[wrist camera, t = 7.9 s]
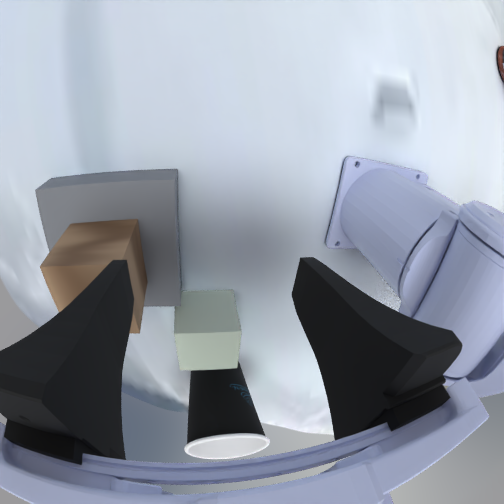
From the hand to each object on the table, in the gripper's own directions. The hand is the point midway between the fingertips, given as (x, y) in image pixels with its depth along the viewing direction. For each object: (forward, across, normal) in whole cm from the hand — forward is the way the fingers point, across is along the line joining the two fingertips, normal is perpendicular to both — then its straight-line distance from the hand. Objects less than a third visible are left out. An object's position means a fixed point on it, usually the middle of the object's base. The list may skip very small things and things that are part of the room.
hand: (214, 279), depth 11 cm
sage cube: (+10, 0, +11) cm, 15 cm away
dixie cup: (+10, -1, +19) cm, 21 cm away
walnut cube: (+7, +7, +3) cm, 10 cm away
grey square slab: (+10, +7, +3) cm, 12 cm away
